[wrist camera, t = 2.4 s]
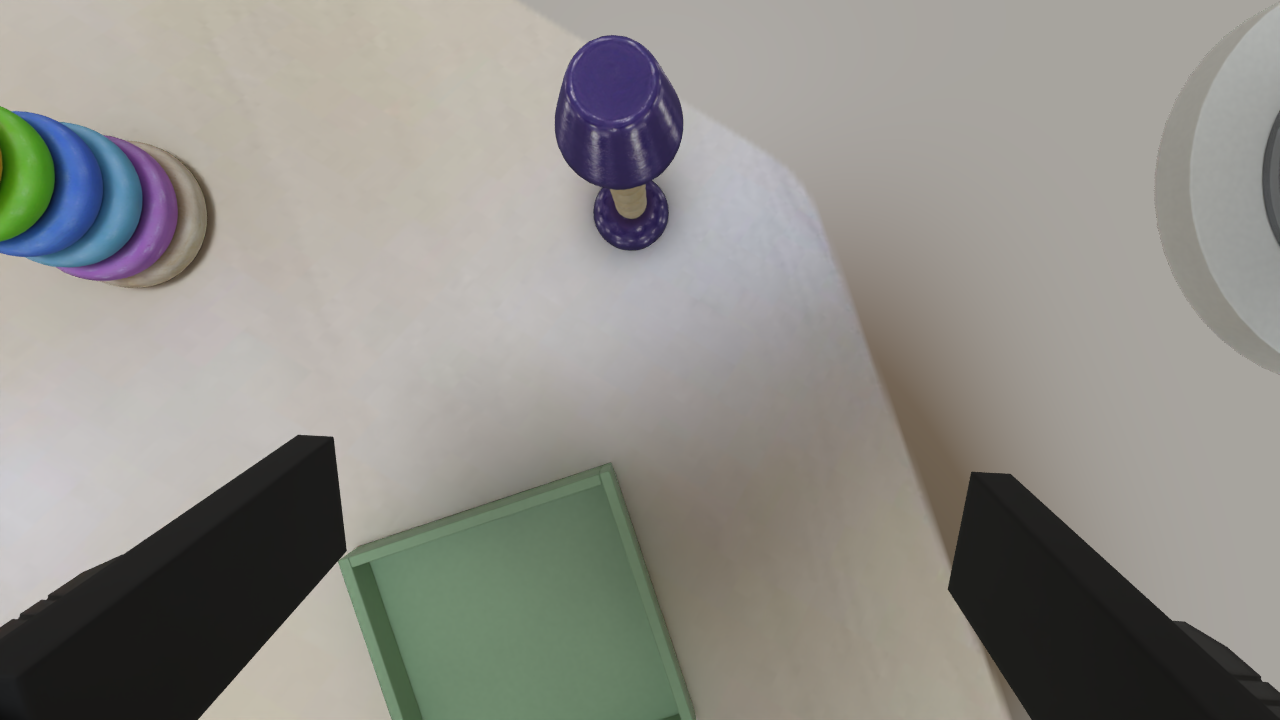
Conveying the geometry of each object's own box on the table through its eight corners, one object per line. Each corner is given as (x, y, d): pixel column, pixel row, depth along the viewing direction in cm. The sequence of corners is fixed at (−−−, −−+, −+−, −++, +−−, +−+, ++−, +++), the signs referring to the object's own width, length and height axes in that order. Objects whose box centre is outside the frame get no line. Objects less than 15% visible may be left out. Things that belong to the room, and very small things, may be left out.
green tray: (611, 462, 36) (609, 470, 33) (695, 713, 36) (699, 740, 34) (358, 546, 36) (337, 561, 33) (443, 797, 36) (428, 830, 34)
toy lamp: (577, 240, 36) (525, 141, 19) (593, 159, 36) (555, -10, 19) (660, 257, 36) (680, 173, 19) (676, 176, 36) (710, 22, 19)
